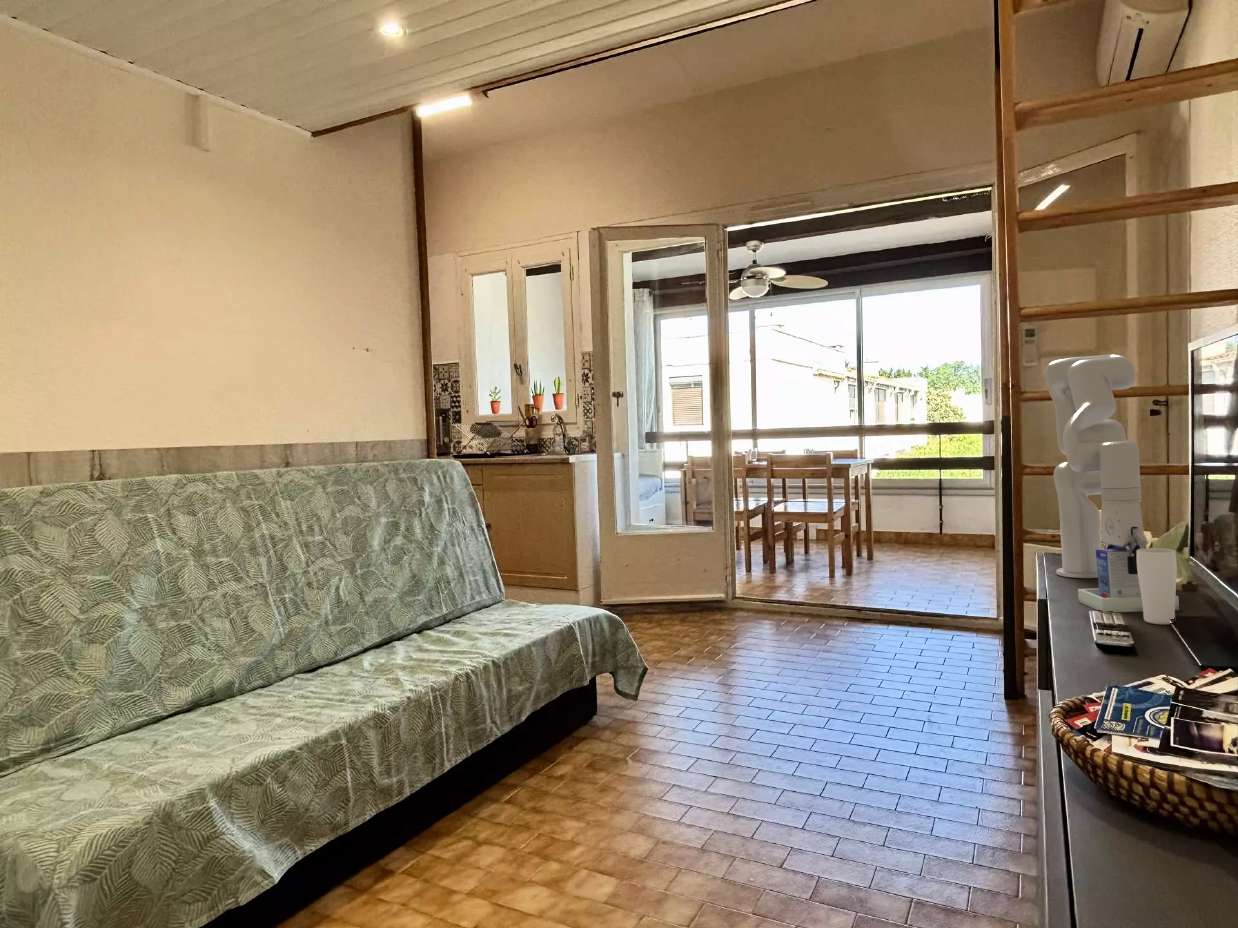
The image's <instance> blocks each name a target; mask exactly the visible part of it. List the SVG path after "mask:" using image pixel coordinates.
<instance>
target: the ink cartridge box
mask: <svg viewBox="0 0 1238 928" xmlns="http://www.w3.org/2000/svg"><path fill="white" fill-rule="evenodd" d="M1112 546H1113V548H1110V549H1105V548H1101V549H1097V550H1096V560H1097V572H1098V578H1097V583H1098V588H1099V596H1100V597H1102V598H1124V597H1141V592H1140V586H1139V579H1138V574H1129V573H1128V563H1127V556H1129V554H1128V551H1127V549H1126V547H1125V545H1124V546H1123V547H1118V546H1114V545H1112ZM1133 549H1134V547H1132V550H1133Z"/></svg>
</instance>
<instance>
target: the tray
mask: <svg viewBox="0 0 1238 928" xmlns="http://www.w3.org/2000/svg"><path fill="white" fill-rule="evenodd" d="M1077 596H1078V597H1077V598H1078V599H1077V600H1078V603H1081V604H1083V605H1085V606H1088V607H1090V608H1092V609H1094V610H1097V611H1098V610H1102V611H1113V612H1112V613H1127V612H1143V606H1142V599H1141V597H1124V598H1102V597H1100V596H1099V587H1097V588H1077ZM1179 610H1180V602H1179V595H1175V611H1179Z"/></svg>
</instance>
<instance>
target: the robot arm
mask: <svg viewBox="0 0 1238 928" xmlns="http://www.w3.org/2000/svg"><path fill="white" fill-rule="evenodd" d="M1044 372H1045V373H1044V377H1045V378H1044V380H1045V385H1046V388H1047V391H1048V393H1049V395H1050V398H1051V400H1052V402H1053V405H1054V409H1055V424H1056V437H1057V439H1056V440H1057V446H1058V450H1059V451H1060V453H1062V455H1065V457H1066V461H1064V462H1061V463H1060V464H1058V465H1056V466H1055V468H1054V471H1053V480H1054V481H1053V482H1054V486H1055V491H1056V495H1057V501H1058V508H1059V509H1058V513H1059V527H1060V546H1061V565H1062V567H1060V568H1057V569H1056V575H1058V576H1061V577H1065V578H1074V579H1098V572H1097V560H1096V550H1097V549H1102V542H1103V543H1104V545H1103V546H1104V548H1103V549H1110V548H1113V546H1112V545H1114V546H1118V547H1123V546H1124V545H1125V547H1126V549H1127V551H1128V554H1129V556H1127V563H1128V573H1129V574H1138V573H1137V560H1136V554H1137V550H1138V549H1144V548H1147V547H1146V546H1147V541H1148V540H1147V537H1146V536H1145V534H1144V524H1143V515H1142V509H1141V504H1140V503H1141V502H1142V489H1141V474H1140V473H1141V470H1140V452H1139V451H1140V450H1139V446H1138V443H1136V441H1133V440H1129V439H1127V438H1126V437H1127V436H1126V432H1125V428H1124V427H1123V425H1122V423H1121V422H1120V421H1118V420H1115V419H1109V418H1111V417H1112V416H1113V415H1114V414H1115V412H1116V410H1117V403H1116V399H1115V396H1114V394H1113V391H1119V390H1120V391H1121V390H1129V389H1130V388H1131V387H1133V385H1134V384H1135V380H1136V370H1135V366H1134V365H1133V363H1132V361H1131V360H1130V359H1129V358H1128V357H1127V356H1125V355H1119V354H1101V355H1090V356H1089V355H1088V356H1077V357H1068V358H1067V357H1066V358H1062V359H1061V358H1060V359H1057V360H1052V361H1051V362H1050V363H1048V364H1047V365H1046V367H1045V371H1044ZM1093 495H1101V510H1099V508H1098V506H1097V505H1096V504H1095V502H1093V501H1091V499H1089V496H1093ZM1132 547H1134V549H1133V550H1132Z"/></svg>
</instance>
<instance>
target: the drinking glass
mask: <svg viewBox="0 0 1238 928" xmlns="http://www.w3.org/2000/svg"><path fill="white" fill-rule="evenodd" d="M1176 555H1177V554H1176V550H1174V549H1172V548H1171V549H1170V548H1163V547H1162V548H1161V547H1157V548H1156V547H1155V548H1154V547H1146V548H1144V549H1138V550H1137V554H1136V560H1137V573H1138V579H1139V586H1140V592H1141V599H1142V606H1143V611H1142V614H1143V615H1142V616H1143V621H1144V622H1146V623H1149V624H1152V625H1161V626H1163V625H1171V624H1170V619H1174V618H1175V619H1176V610H1175V595H1176V594H1177V593H1176V591H1177V577H1178V576H1177V572H1178V568H1177V556H1176ZM1176 596H1177V595H1176Z"/></svg>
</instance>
